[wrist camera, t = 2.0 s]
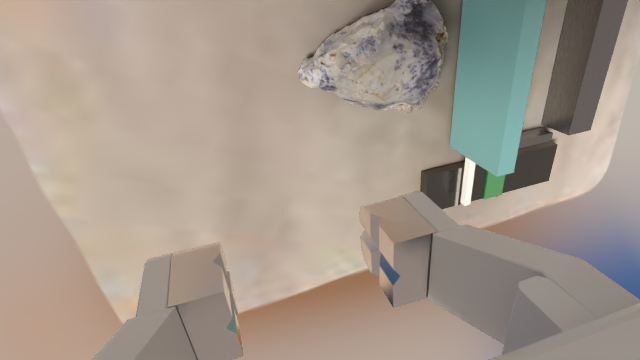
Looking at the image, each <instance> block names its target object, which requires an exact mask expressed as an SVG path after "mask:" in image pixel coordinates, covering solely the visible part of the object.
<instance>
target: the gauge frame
mask: <svg viewBox="0 0 640 360" xmlns="http://www.w3.org/2000/svg"><path fill="white" fill-rule="evenodd" d="M627 2H628V0H568V4H567V9H566V14H565V18H564V23H563V27H562V32H561V37H560V41H559V46H558V50H557V55H556V60H555V64H554V69H553V73H552V78H551V83H550V87H549V92H548V96H547V101H546V106H545V110H544V115H543V119H542V125H544V126H547V127H549V128H552V129H554V130H557V131H559V132H562V133H564V134H567V135H572V134H576V133H580V132H584V131H589V130H591V126H592V123H593V119H594V116H595V112H596V109H597V106H598V102H599V99H600V95H601V92H602V88H603V85H604V81H605V78H606V74H607V71H608V68H609V64H610V61H611V57H612V54H613V50H614V47H615V43H616V40H617V36H618V33H619V29H620V26H621V23H622V19H623V16H624V12H625V9H626V5H627ZM552 135H553V133H552V132H550V131H547V130H545V129H542V128H535V129H531V130H526V131H522V132H521V137H520V142H519V148H518V153H517V158H516V163H515V169H514V173H510V174H506V175H502V176H498V177H496V176H495V175H493V174H492V173H490V172H488V171H487V170H485V169H484V168H482V167H481V166H479V165H477V164H475V172H474V179H473V187H472V195H471V201H474V200H478V199H482V198H483V199H487V198H491V197H494V196H498V195H502V193H504V192H508V191H512V190H515V189H519V188H523V187H527V186H530V185H534V184H538V183H542V182H545V181H549V177H550V173H551V169H552V165H553V161H554V157H555V153H556V149H557V144H555V143H553V142H551V139H552ZM464 167H465V161H462V162H458V163H454V164H450V165H446V166H441V167H437V168H433V169H429V170H425V171H421V189H420V192H423V193H424V194H425V195H426V196H427V197H428V198H429V199H431V200H432V201H433V202H434V203H435V204H436V205H437V206H438V207H440V208H441V209H444V208H448V207H452V206H458V205H459V204H461V203H460V201H461V193H462V184H463V175H464Z"/></svg>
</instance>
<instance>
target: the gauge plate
mask: <svg viewBox="0 0 640 360" xmlns="http://www.w3.org/2000/svg"><path fill="white" fill-rule="evenodd" d="M546 1H547V0H463V4H462V15H461V26H460V37H459V48H458V59H457V70H456V82H455V93H454V104H453V115H452V126H451V137H450V147H451V148H452V149H454V150H455V151H457V152H459V153H460V154H462V155H463V156H465V157H466V158H465V167H464V175H463V184H462V193H461V201H460V203H461V204H463V205H464V206H466V205H470V202H471V195H472V187H473V179H474V172H475V164H477V165H479V166H481V167H482V168H484V169H485V170H487V171H488V172H490V173H492V174H493V175H495V176H496V177H498V176H502V175H506V174H510V173H514V169H515V163H516V158H517V153H518V148H519V142H520V137H521V132H522V127H523V122H524V116H525V111H526V106H527V101H528V95H529V90H530V85H531V80H532V75H533V69H534V64H535V59H536V54H537V48H538V43H539V38H540V33H541V28H542V22H543V17H544V12H545V7H546Z"/></svg>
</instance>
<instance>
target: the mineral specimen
mask: <svg viewBox="0 0 640 360" xmlns="http://www.w3.org/2000/svg"><path fill="white" fill-rule="evenodd" d="M448 41H449V40H448V33H447V32H446V27H445V26H444V25H443V18H442V16H441V15H440V13H439V11H438V9H437V7H436V6H435V4H434V3H433V2H432V1H431V0H396V1H395V2H394V3H393V4H391V5H390V6H389V7H388V8H385V9H381V10H380V11H379V12H377V13H372V14H371V15H368V16H363V17H361V18H360V20H358V21H356V22H355V23H353V24H351V25H349V26H345V27H344V28H343V29H342V30H340V31H339V32H337V33H332V34H331V35H330V36H329V38H328V39H326V40H325V43H322V44H321V46H320V47H319V48H318V49H317V51H316V52H315V53H314V56H313V57H311V58H308V59H304V60H303V63H302V65H301V67H300V69H299V70H298V73H299V74H300V75H299V79H300V81H301V83H303V84H304V85H306V86H308V87H310V88H314V87H319V88H321V89H322V90H324V91H325V92H327V93H329V92H332V93H334V94H335V95H337V96H339V97H340V98H342V99H344V100H348V101H350V103H351V105H352V104H353V103H354V104H357V105H361V106H362V107H370V108H373V109H375V110H379V111H385V110H388V109H393V108H394V109H397V110H399V111H401V110H404V111H405V112H406V113H410V112H416V111H418V110H419V109H420V108H421V107H423V105H424V103H425V99H427V98H428V95H429V93H430V92H431V91H434V90H436V88H437V87H438V86H439V78H440V75H441V70H442V67H443V65H444V56H445V54H444V51H443V48H444V47H445V43H447V42H448Z"/></svg>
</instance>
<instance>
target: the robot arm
mask: <svg viewBox="0 0 640 360" xmlns="http://www.w3.org/2000/svg"><path fill="white" fill-rule="evenodd" d="M360 223H361V224H362V226H363V227H364V229H365V230H364V232H363V233H362V235H361V236H360V238H361V248H362V252H363V256H364V260H365V262H366V264H367V266H368V268H369V270H370V272H371V273H372V274H373V275H376V276H378V277H380V288H381V289H382V291H383V292H384V294H385V296H386V297H387V299H388V300H389V302H390V304H391V305H392V307H393V308H394V307H398V306H401V305H404V304H408V303H411V302H415V301H418V300H422V299H425V298H428V300H429V301H431V302H433V303H434V304H436V305H438V306H440V307H441V308H443V309H445V310H446V311H448V312H450V313H451V314H453V315H455V316H456V317H458V318H460V319H462V320H463V321H465V322H467V323H468V324H470V325H472V326H473V327H475V328H477V329H479V330H480V331H482V332H484V333H486V334H487V335H489V336H491V337H492V338H494V339H496V340H497V341H499V342H501V343H503V344H504V347H503V352H502V355H500V356H498V357H495V358H492V359H490V360H640V300H639V299H638V298H636V297H635V296H633V295H632V294H631V293H629V292H628V291H626V290H625V289H623V288H622V287H620V286H619V285H618V284H616V283H615V282H614V281H612V280H611V279H609V278H608V277H607V276H605V275H604V274H602V273H601V272H599V271H598V270H597V269H595V268H594V267H593V266H591V265H590V264H588V263H587V262H585V261H584V260H582V259H579V258H576V257H573V256H569V255H566V254H563V253H560V252H556V251H553V250H549V249H546V248H543V247H539V246H536V245H533V244H529V243H526V242H522V241H520V240H516V239H513V238H510V237H506V236H503V235H500V234H496V233H493V232H489V231H486V230H483V229H480V228H476V227H473V226H470V225H462V226H460V225H459V224H457V223H456V222H455V221H454V220H453V219H452V218H451V217H450V216H448V215H447V214H446V213H445V212H444V211H443V210H442V209H441V208H440V207H438V206H437V205H436V204H435V203H434V202H433V201H432V200H431V199H429V198H428V197H427V196H426V195H425V194H424V193H423V192H420V191H416V192H412V193H409V194H405V195H402V196H399V197H397V198H393V199H389V200H385V201H382V202H378V203H374V204H370V205H366V206H363V207H361V208H360ZM237 314H238V311H237V305H236V299H235V294H234V289H233V285H232V281H231V277H230V273H229V272H228V271H227V269H226V261H225V256H224V252H223V249H222V246H221V243H220V242H218V243H214V244H209V245H205V246H201V247H196V248H192V249H188V250H183V251H179V252H175V253H173V254H171V253H170V254H166V255H162V256H158V257H154V258H151V259H148V260H147V261H146V263H145V265H144V271H143V277H142V283H141V289H140V295H139V300H138V306H137V312H136V317H135V318H132V319H129V320H127V321H126V322H125V323H124V324H123V325H122V327H121V328H120V329H119V330H118V331H117V332H116V333H115V334H114V335H113V337H112V338H111V339H110V340H109V341H108V342H107V343H106V344H105V346H104V347H103V348H102V349H101V350H100V351H99V352H98V354H96V355H95V357H94V358H93V359H92V360H233V359H236V358H239V357H242V356H243V348H242V341H241V334H240V328H239V324H238V321H237V317H236V316H237Z"/></svg>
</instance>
